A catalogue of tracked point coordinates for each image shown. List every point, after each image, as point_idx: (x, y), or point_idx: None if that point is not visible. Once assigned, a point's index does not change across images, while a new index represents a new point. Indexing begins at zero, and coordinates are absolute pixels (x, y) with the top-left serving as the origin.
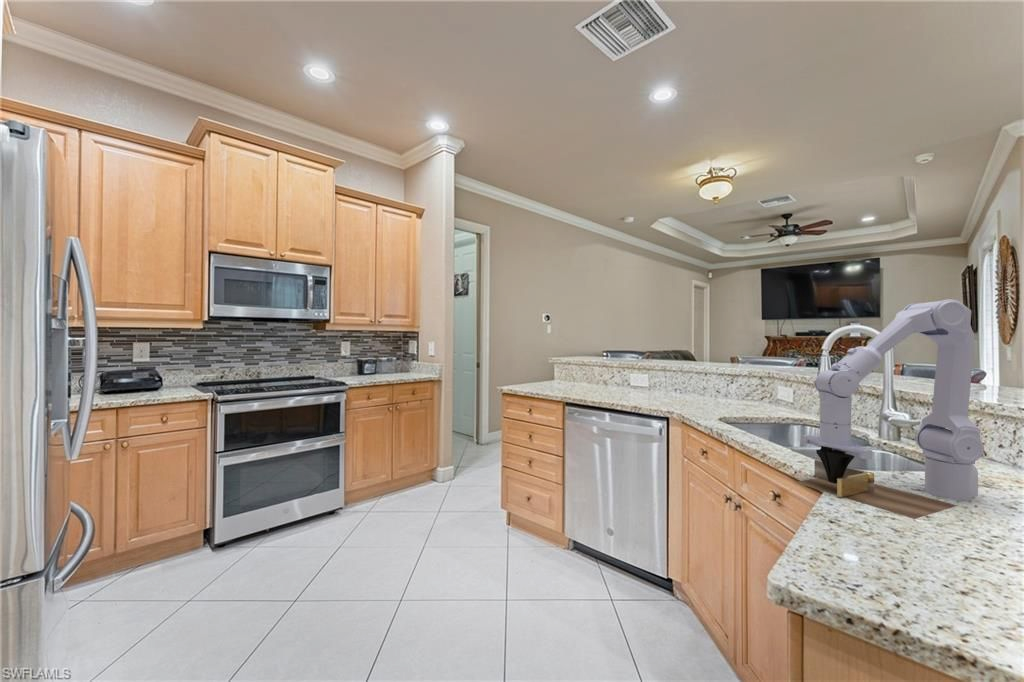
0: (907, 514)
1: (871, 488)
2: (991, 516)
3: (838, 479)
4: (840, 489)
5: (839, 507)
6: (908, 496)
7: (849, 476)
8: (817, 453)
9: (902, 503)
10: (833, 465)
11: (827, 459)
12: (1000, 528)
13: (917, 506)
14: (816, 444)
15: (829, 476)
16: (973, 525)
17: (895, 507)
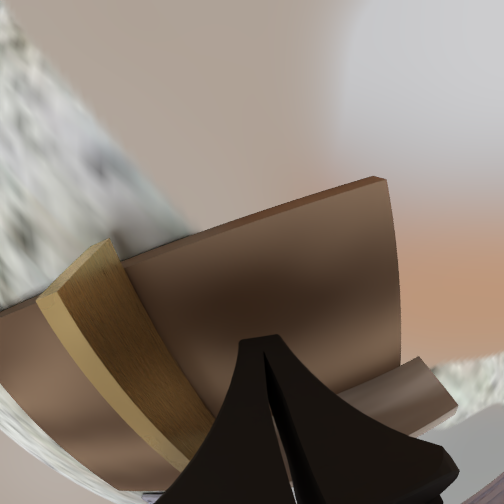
0: None
1: None
2: (107, 490)
3: (52, 289)
4: (77, 263)
5: (62, 184)
6: (165, 472)
7: (134, 412)
8: (428, 449)
9: (88, 423)
10: (224, 435)
11: (306, 462)
12: (42, 455)
13: (72, 432)
14: (491, 492)
15: (269, 354)
16: (36, 437)
17: (36, 373)
